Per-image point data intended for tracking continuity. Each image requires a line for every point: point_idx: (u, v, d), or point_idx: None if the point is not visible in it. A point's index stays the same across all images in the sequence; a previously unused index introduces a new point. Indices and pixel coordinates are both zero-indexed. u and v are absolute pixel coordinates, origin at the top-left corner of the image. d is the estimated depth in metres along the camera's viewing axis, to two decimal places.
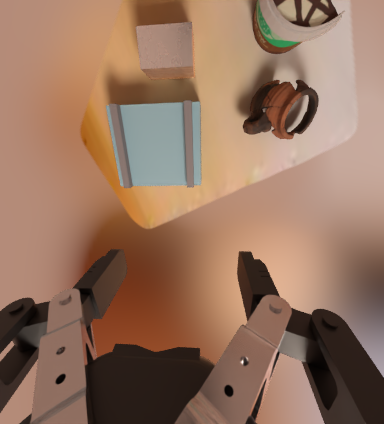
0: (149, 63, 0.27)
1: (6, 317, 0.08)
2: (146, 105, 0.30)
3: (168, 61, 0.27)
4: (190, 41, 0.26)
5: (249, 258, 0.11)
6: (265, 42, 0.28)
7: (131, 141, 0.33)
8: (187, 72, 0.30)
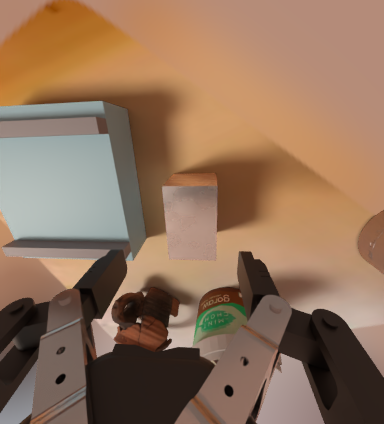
0: (170, 201, 0.17)
1: (6, 317, 0.08)
2: (116, 184, 0.18)
3: (173, 230, 0.18)
4: (195, 258, 0.19)
5: (249, 258, 0.11)
6: (203, 307, 0.27)
7: (51, 148, 0.17)
8: None
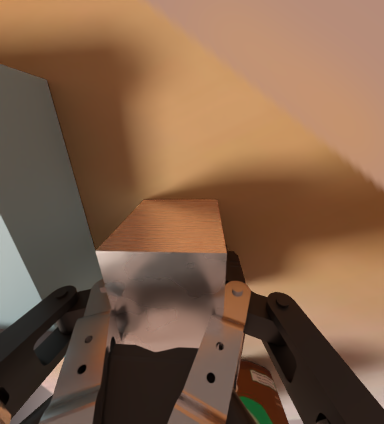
0: (118, 280, 0.07)
1: (52, 301, 0.08)
2: (6, 237, 0.08)
3: (132, 329, 0.09)
4: None
5: None
6: None
7: None
8: None
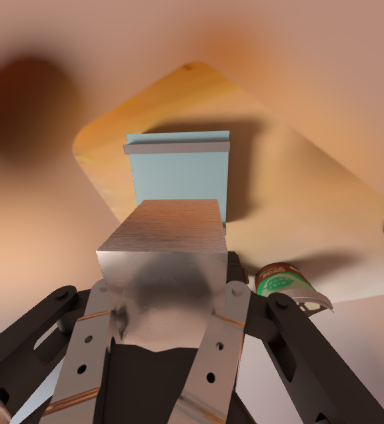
0: (119, 280, 0.07)
1: (52, 301, 0.08)
2: (225, 183, 0.26)
3: (133, 329, 0.09)
4: None
5: None
6: (263, 277, 0.35)
7: (186, 159, 0.26)
8: None
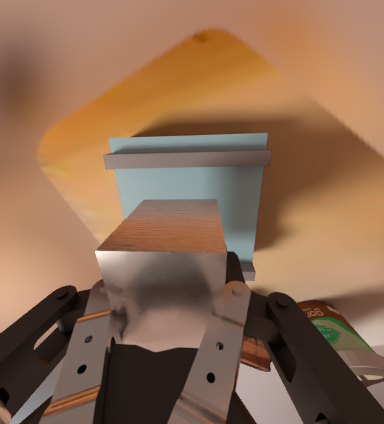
0: (118, 280, 0.07)
1: (52, 301, 0.08)
2: (256, 210, 0.18)
3: (132, 329, 0.09)
4: None
5: None
6: None
7: (200, 176, 0.17)
8: None
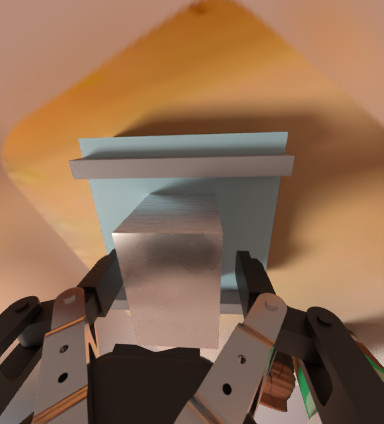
0: (130, 259, 0.09)
1: (11, 315, 0.08)
2: (269, 229, 0.14)
3: (141, 304, 0.10)
4: (183, 344, 0.11)
5: (246, 257, 0.11)
6: None
7: (198, 187, 0.13)
8: None
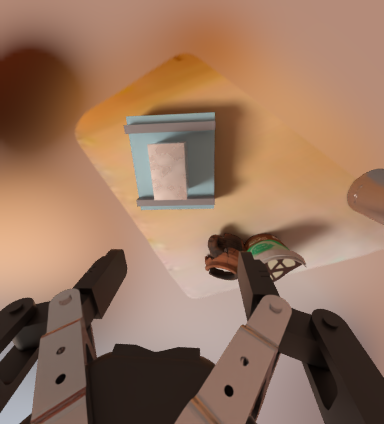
0: (153, 155, 0.25)
1: (6, 317, 0.08)
2: (213, 159, 0.31)
3: (156, 177, 0.26)
4: (173, 198, 0.27)
5: (249, 258, 0.11)
6: (248, 246, 0.40)
7: (179, 138, 0.30)
8: None
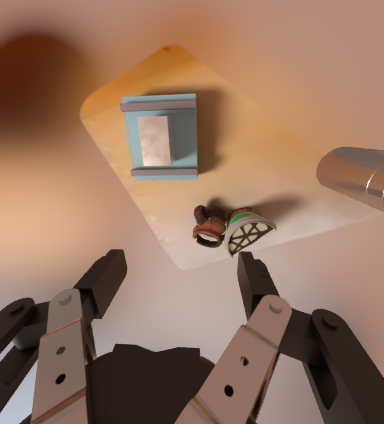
0: (142, 126, 0.31)
1: (6, 317, 0.08)
2: (195, 135, 0.36)
3: (145, 145, 0.32)
4: (159, 164, 0.33)
5: (249, 258, 0.11)
6: (231, 217, 0.46)
7: None
8: None
